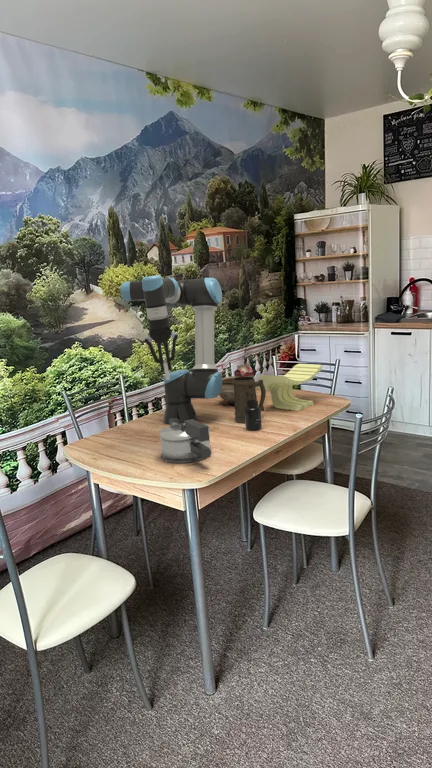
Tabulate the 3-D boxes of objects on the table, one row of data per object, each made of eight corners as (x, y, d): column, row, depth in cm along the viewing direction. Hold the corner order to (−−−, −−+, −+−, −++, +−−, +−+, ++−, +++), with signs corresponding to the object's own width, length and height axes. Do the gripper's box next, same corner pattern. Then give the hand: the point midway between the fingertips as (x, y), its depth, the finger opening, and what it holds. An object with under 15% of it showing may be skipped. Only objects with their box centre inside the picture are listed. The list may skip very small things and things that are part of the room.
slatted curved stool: (295, 397, 277) (293, 363, 274) (322, 400, 267) (321, 364, 263) (260, 411, 256) (257, 374, 252) (288, 414, 245) (285, 376, 242)
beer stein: (240, 424, 235) (240, 380, 232) (229, 420, 244) (228, 377, 241) (270, 420, 242) (269, 377, 238) (257, 416, 251) (257, 374, 248)
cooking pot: (230, 396, 292) (228, 374, 290) (263, 397, 284) (261, 374, 282) (210, 407, 270) (207, 384, 268) (244, 409, 262) (243, 384, 260)
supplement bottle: (260, 430, 224) (259, 402, 221) (244, 431, 225) (242, 403, 223) (262, 426, 230) (261, 398, 228) (247, 426, 232) (245, 399, 229)
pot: (152, 451, 208) (150, 431, 207) (196, 442, 216) (194, 422, 214) (182, 474, 181) (179, 452, 179) (231, 463, 188) (229, 441, 187)
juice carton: (255, 409, 260) (252, 364, 256) (244, 411, 257) (240, 366, 253) (248, 406, 266) (245, 362, 262) (236, 409, 263) (233, 364, 259)
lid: (150, 431, 206) (148, 415, 204) (194, 422, 213) (193, 407, 212) (180, 450, 179) (178, 432, 178) (229, 439, 187) (228, 422, 186)
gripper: (139, 322, 197) (150, 383, 203) (175, 316, 197) (184, 378, 203) (141, 319, 204) (151, 379, 210) (175, 314, 205) (184, 374, 211)
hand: (168, 378), depth 207 cm, fingers closed
